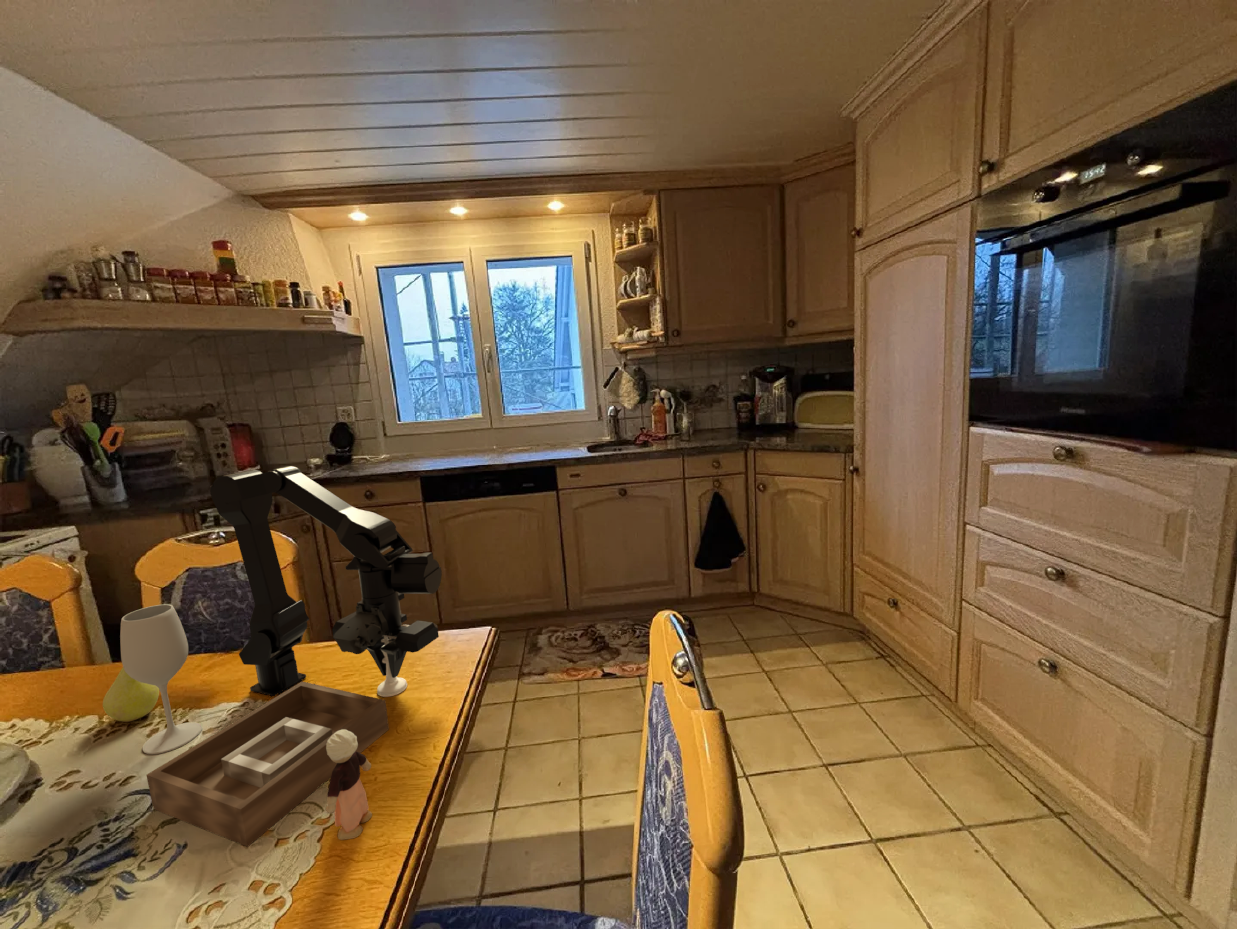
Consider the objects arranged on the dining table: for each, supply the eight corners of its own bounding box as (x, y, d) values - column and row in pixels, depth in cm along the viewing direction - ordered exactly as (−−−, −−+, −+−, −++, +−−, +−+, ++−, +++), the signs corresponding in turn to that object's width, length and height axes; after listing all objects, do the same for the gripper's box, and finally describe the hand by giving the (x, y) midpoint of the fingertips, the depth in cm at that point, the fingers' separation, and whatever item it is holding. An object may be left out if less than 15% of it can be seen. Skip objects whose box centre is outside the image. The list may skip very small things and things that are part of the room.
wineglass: (151, 761, 77) (123, 628, 74) (133, 744, 81) (105, 617, 78) (212, 731, 84) (188, 607, 80) (192, 717, 88) (169, 598, 84)
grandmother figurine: (350, 804, 67) (336, 715, 65) (380, 801, 68) (368, 712, 66) (321, 858, 60) (305, 758, 58) (356, 854, 60) (341, 754, 58)
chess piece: (396, 698, 90) (389, 644, 89) (371, 695, 91) (363, 642, 90) (412, 681, 95) (406, 630, 93) (388, 680, 96) (382, 629, 94)
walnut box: (153, 809, 68) (146, 774, 67) (306, 708, 88) (301, 681, 88) (247, 846, 62) (240, 809, 61) (388, 729, 82) (385, 700, 81)
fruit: (99, 725, 87) (83, 658, 85) (152, 699, 94) (138, 636, 92) (123, 733, 84) (108, 664, 82) (176, 705, 91) (163, 641, 89)
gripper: (298, 605, 86) (311, 692, 89) (386, 618, 80) (398, 712, 82) (353, 580, 96) (364, 659, 99) (435, 590, 90) (445, 674, 92)
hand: (390, 675), depth 93 cm, fingers closed on chess piece
